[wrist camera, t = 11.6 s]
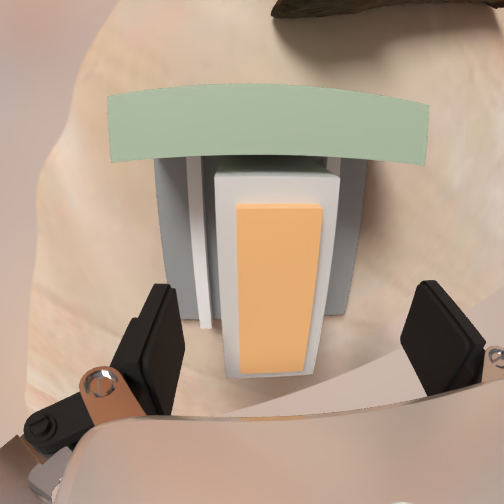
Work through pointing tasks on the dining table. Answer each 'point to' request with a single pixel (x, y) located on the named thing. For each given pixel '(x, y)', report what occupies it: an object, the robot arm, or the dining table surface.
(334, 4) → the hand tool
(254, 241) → the holder
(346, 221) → the chute mount
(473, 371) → the robot arm
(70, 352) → the dining table surface
